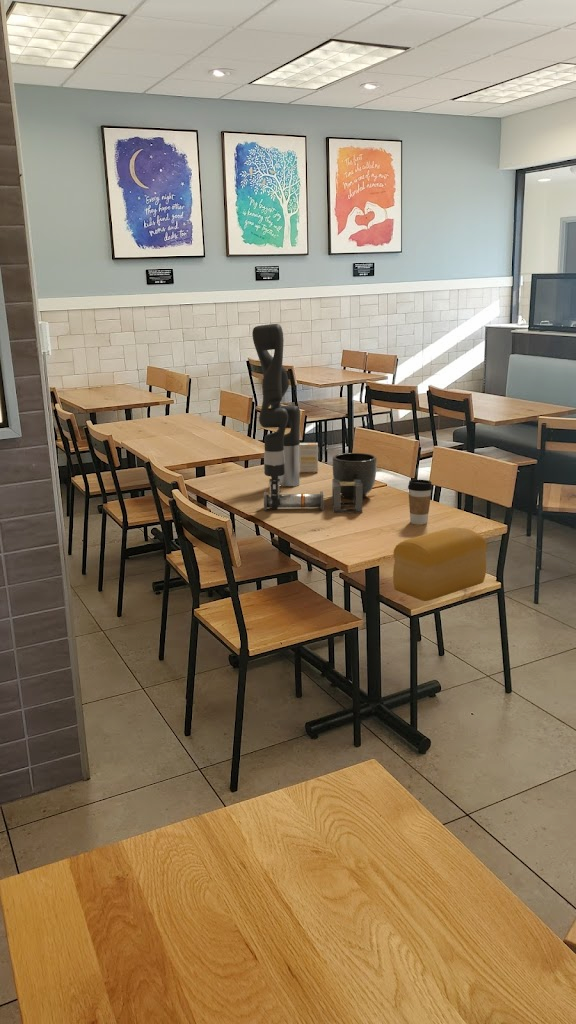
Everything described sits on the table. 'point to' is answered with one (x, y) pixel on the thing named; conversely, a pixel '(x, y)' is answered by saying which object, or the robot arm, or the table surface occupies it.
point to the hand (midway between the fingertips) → (274, 506)
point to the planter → (355, 471)
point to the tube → (295, 500)
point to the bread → (439, 563)
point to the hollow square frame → (356, 502)
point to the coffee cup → (419, 500)
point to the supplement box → (308, 457)
